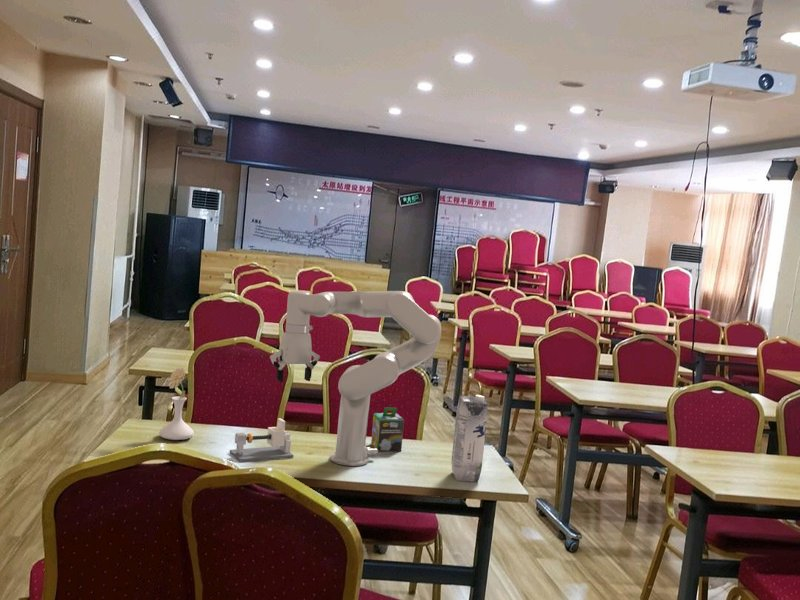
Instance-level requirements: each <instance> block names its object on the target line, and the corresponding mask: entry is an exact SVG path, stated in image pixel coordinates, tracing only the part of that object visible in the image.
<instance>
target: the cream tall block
mask: <svg viewBox="0 0 800 600" xmlns="http://www.w3.org/2000/svg"><path fill="white" fill-rule="evenodd" d="M276 423H277V425H276V426H271V427H270V426H268V427H267V434H266V435H272V436H271V439H266V443H267V444H268V445H270V447H276V446H284V440H285V431H286V430H285V429H286V421H285V420H284V419H282V418H280V417H279V418H277V422H276Z"/></svg>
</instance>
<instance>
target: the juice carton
mask: <svg viewBox="0 0 800 600" xmlns="http://www.w3.org/2000/svg"><path fill="white" fill-rule="evenodd" d="M488 412H489V411H488V403H487V402H486V401H485V396H483V395H481V394H476V395H475V396H472V395H470V396H469V395H459V398H458V403H457V406H456V414H455V424H454V431H453V432H454V433H453V441H452V443H453V445H452V452H451V453H452V454H451V471H452V474H453V475H454V478H455V480H456V481H458V482H459V481H461V482H474V483H475V482H476V483H477V482H479V480H480V477H481V473H482V467H483V461H484V460H483V458H484V450H485V440H486V432H487V423H488Z"/></svg>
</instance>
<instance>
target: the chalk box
mask: <svg viewBox="0 0 800 600" xmlns="http://www.w3.org/2000/svg"><path fill="white" fill-rule="evenodd" d="M388 411H392V412H388ZM372 415H373V417H372V429H371V439H370V441H371V442H370V443H371V445H372V447H373V448H377V450H378V452H385V451H386V452H402V447H403V439H404V438H403V437H404V427H405V419H404V418H403V417H402V416H400V414H398V413H397V407H384V408H383V412H380V413H379V412H374V413H373V414H372Z"/></svg>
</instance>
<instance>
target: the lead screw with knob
mask: <svg viewBox="0 0 800 600" xmlns="http://www.w3.org/2000/svg"><path fill="white" fill-rule="evenodd" d="M246 435H247V437H246V443H248V444H252V443H253V441H256V440H258V441H259V440H267V439H271V436H272V435H267V434H266V435H253V434H252V433H247V434H246Z"/></svg>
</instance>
